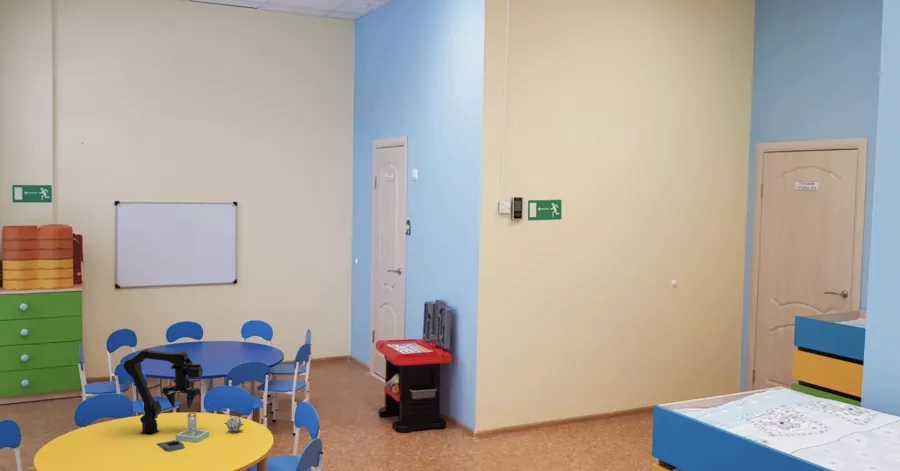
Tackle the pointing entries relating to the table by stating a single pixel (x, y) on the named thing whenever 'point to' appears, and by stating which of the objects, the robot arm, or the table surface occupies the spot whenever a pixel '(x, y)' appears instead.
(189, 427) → the pin
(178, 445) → the grey slab
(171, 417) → the table surface
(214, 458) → the table surface
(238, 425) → the game die
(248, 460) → the table surface
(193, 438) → the tray
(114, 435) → the table surface
